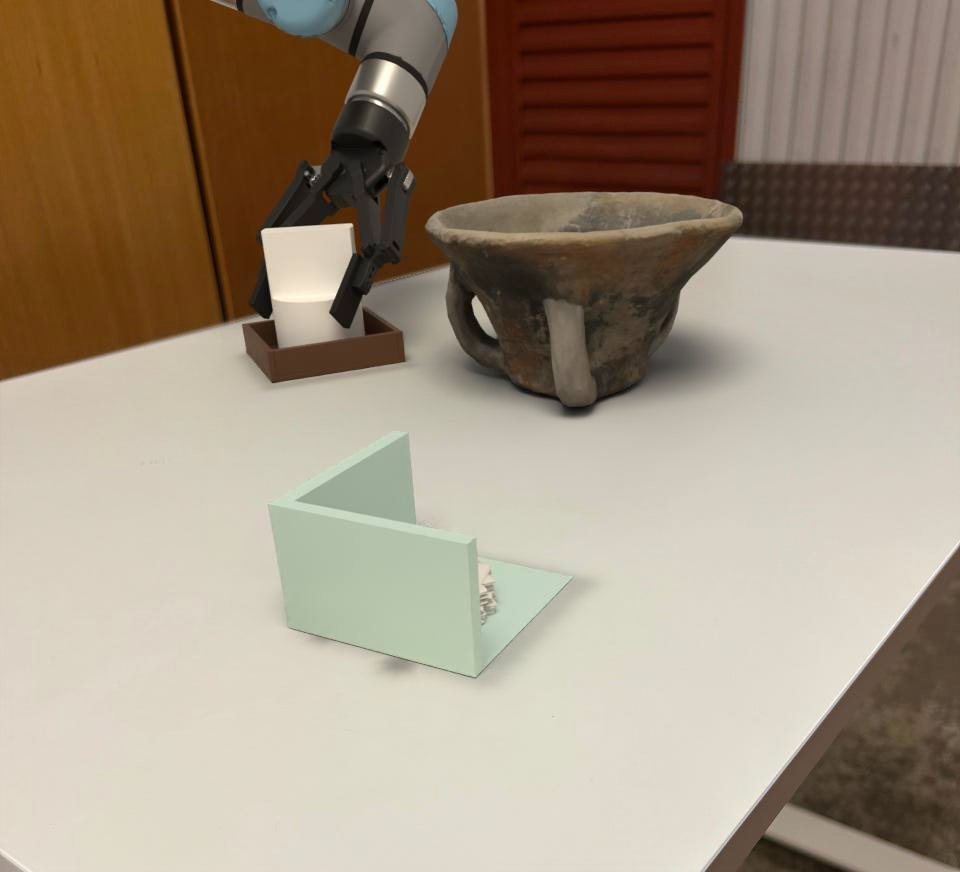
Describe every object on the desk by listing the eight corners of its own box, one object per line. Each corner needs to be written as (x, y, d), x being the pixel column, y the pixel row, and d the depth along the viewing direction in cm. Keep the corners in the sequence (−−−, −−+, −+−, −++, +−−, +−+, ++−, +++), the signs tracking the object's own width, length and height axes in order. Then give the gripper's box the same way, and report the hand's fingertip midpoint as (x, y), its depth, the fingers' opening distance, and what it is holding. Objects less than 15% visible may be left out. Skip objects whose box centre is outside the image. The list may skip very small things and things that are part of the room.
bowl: (635, 327, 107) (640, 175, 100) (789, 391, 86) (811, 206, 79) (400, 365, 99) (386, 203, 91) (508, 446, 78) (501, 245, 70)
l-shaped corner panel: (475, 677, 50) (467, 544, 46) (288, 627, 56) (267, 503, 52) (573, 576, 59) (573, 457, 55) (404, 541, 64) (394, 430, 60)
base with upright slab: (367, 337, 107) (355, 218, 101) (364, 360, 99) (351, 233, 93) (284, 343, 107) (266, 223, 100) (274, 366, 99) (254, 239, 93)
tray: (272, 382, 96) (267, 351, 95) (246, 352, 106) (241, 323, 105) (405, 361, 100) (402, 331, 99) (368, 333, 110) (365, 306, 109)
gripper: (485, 150, 99) (407, 347, 97) (313, 148, 110) (238, 326, 107) (452, 93, 93) (368, 303, 90) (273, 97, 104) (192, 285, 101)
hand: (297, 316), depth 99 cm, fingers open, 10 cm apart
